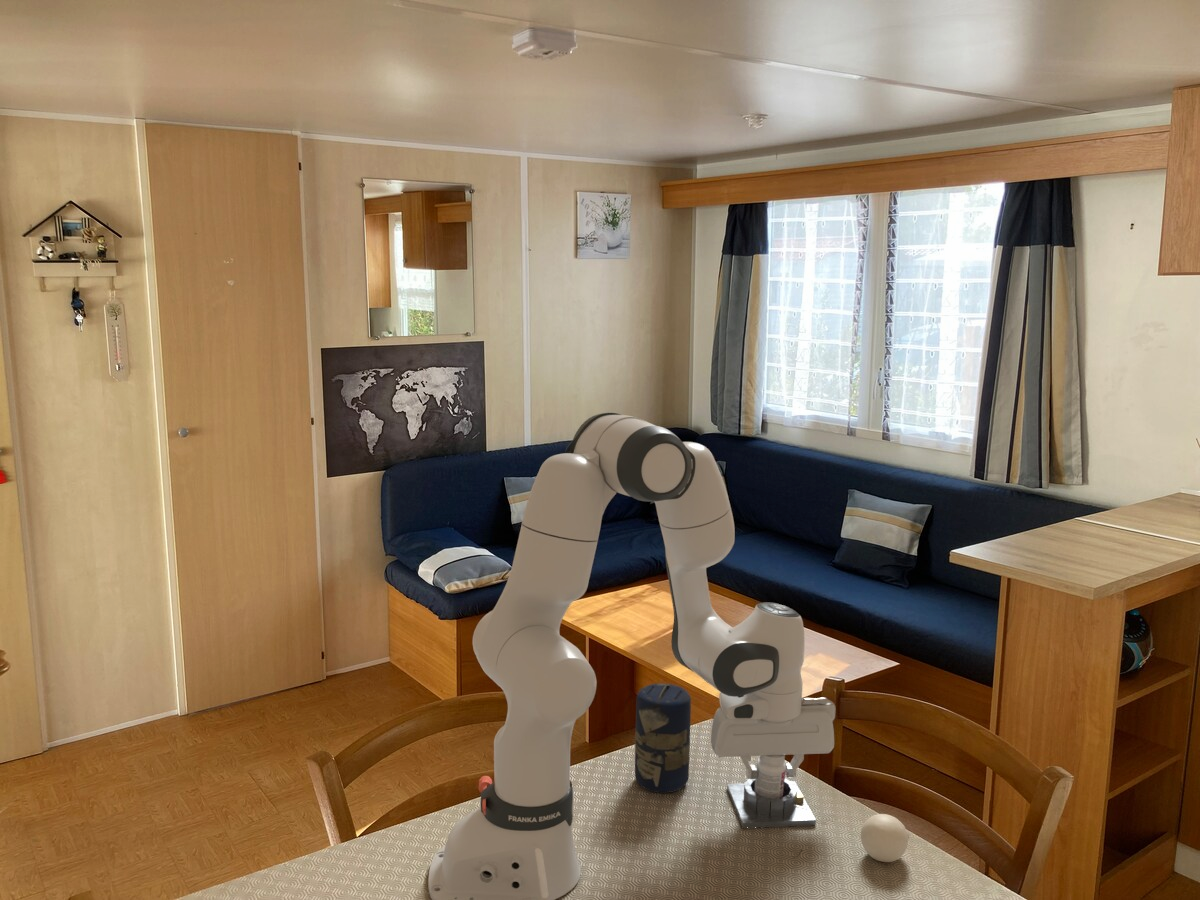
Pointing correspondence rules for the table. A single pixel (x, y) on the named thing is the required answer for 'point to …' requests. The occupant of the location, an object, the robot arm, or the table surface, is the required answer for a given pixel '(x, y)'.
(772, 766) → the pill bottle
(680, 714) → the canister
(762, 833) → the table surface
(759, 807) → the lock socket
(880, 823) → the beige sphere
